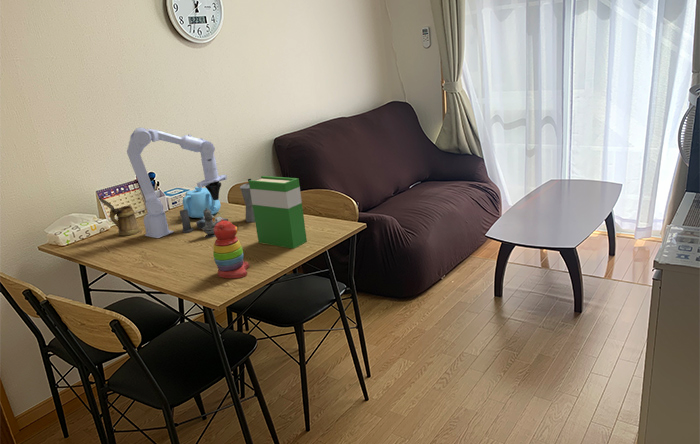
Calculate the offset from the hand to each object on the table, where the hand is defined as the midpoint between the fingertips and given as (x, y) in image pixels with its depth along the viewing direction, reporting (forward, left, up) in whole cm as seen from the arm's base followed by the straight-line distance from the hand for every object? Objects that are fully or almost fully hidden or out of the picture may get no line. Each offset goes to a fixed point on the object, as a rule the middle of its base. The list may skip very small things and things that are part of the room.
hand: (215, 199), depth 224 cm
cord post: (-4, -15, -10) cm, 18 cm away
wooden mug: (-29, -28, -10) cm, 42 cm away
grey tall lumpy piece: (+12, -15, -10) cm, 21 cm away
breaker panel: (+3, -7, -10) cm, 12 cm away
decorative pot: (-16, +4, -10) cm, 19 cm away
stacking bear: (+50, -37, -10) cm, 63 cm away
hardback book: (+46, -9, -10) cm, 48 cm away
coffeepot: (+15, +8, -10) cm, 20 cm away
